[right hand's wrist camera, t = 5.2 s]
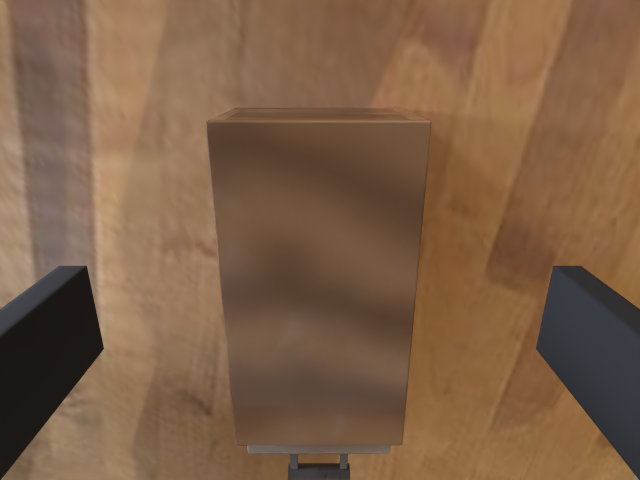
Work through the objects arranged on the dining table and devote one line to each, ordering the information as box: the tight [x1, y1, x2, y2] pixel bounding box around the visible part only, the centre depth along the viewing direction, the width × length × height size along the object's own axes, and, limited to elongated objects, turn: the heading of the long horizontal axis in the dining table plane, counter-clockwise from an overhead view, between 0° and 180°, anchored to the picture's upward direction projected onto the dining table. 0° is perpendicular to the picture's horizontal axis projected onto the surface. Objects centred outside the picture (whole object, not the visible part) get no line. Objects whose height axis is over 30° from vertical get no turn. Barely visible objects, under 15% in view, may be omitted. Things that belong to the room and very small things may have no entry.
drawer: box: [247, 445, 390, 480], centre depth 31 cm, size 26×10×6 cm, turn 0°
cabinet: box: [206, 108, 431, 445], centre depth 29 cm, size 21×11×8 cm, turn 0°
